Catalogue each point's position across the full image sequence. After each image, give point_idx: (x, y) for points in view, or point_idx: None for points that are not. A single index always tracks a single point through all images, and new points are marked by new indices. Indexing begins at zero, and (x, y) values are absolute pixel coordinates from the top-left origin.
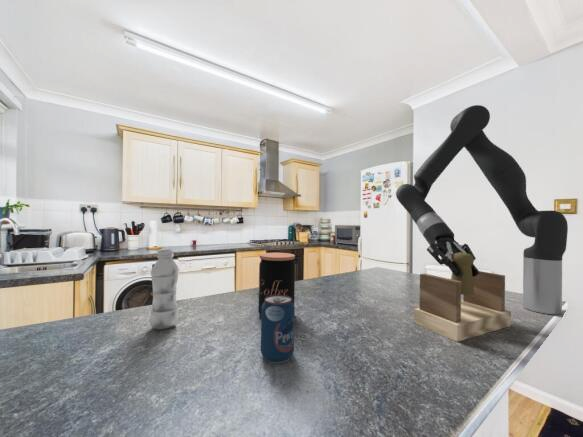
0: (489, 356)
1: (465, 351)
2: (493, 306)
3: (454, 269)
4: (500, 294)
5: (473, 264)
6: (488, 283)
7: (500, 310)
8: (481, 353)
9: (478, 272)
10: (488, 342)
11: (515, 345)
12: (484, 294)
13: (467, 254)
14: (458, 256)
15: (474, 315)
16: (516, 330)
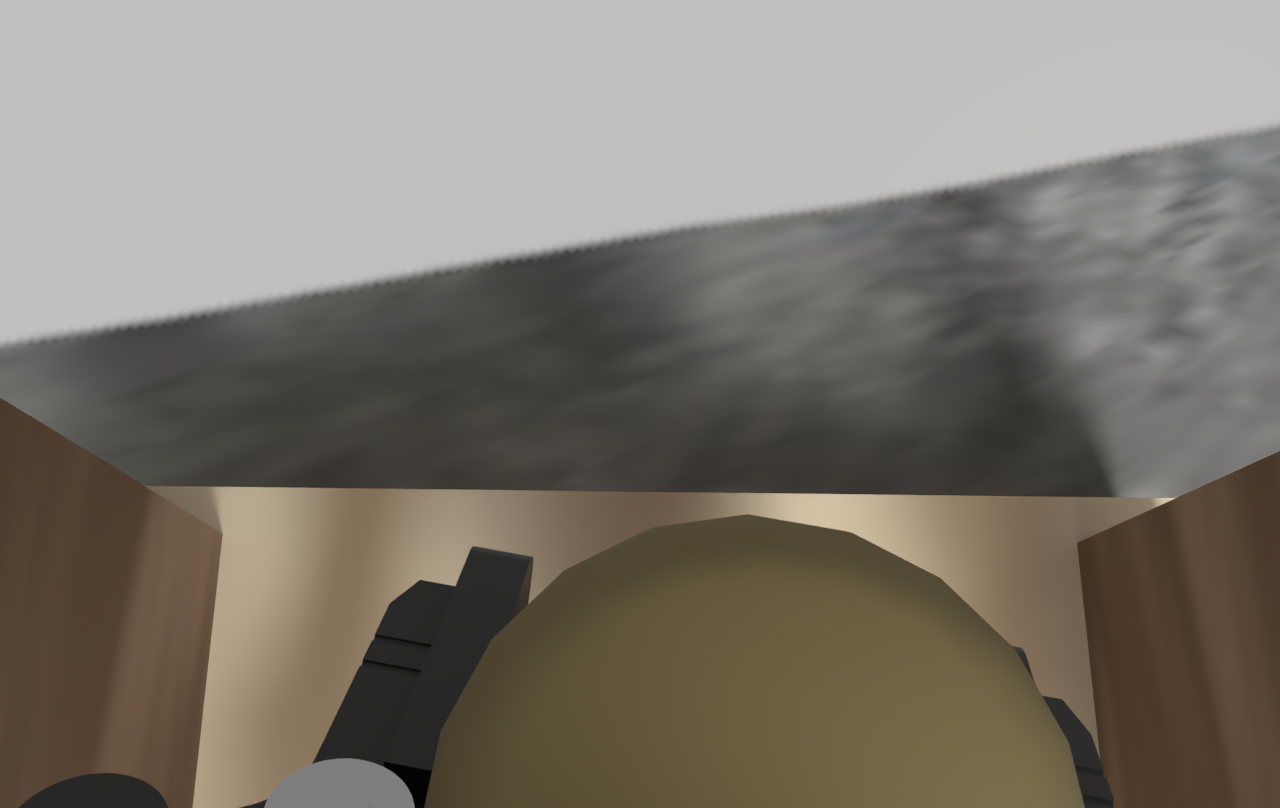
0: (1096, 279)
1: (1212, 400)
2: (199, 612)
3: (1100, 795)
4: (131, 488)
5: (335, 731)
6: (42, 656)
7: (215, 533)
8: (1111, 329)
9: (499, 551)
10: (841, 409)
11: (670, 284)
12: (125, 735)
13: (826, 624)
14: (1077, 805)
15: None
16: (246, 437)
